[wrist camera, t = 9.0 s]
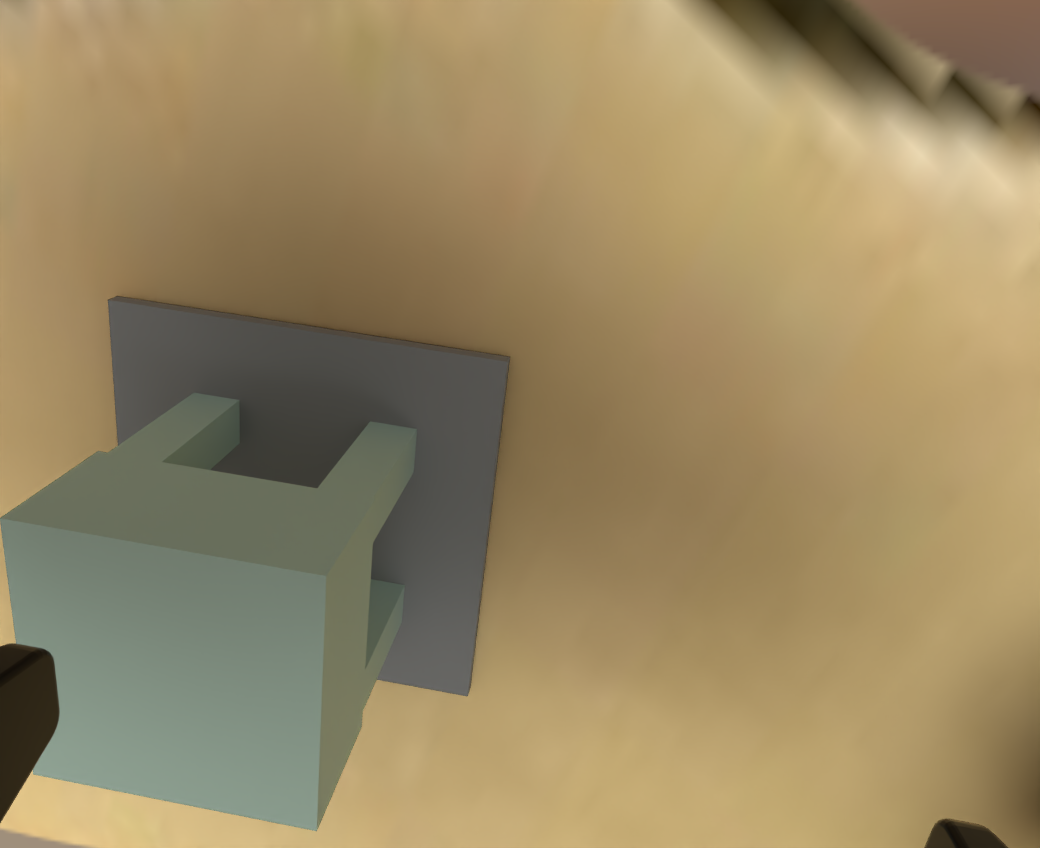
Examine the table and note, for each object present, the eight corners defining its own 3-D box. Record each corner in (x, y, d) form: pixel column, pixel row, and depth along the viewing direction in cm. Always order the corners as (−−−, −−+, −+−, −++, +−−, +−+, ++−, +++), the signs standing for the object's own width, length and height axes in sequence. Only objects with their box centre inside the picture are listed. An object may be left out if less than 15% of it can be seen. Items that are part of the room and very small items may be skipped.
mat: (510, 356, 21) (507, 361, 20) (470, 686, 24) (467, 696, 24) (117, 296, 21) (107, 299, 21) (138, 625, 25) (130, 634, 25)
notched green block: (405, 625, 24) (316, 830, 17) (196, 587, 24) (32, 774, 18) (421, 426, 21) (326, 576, 15) (190, 388, 22) (-1, 518, 15)
